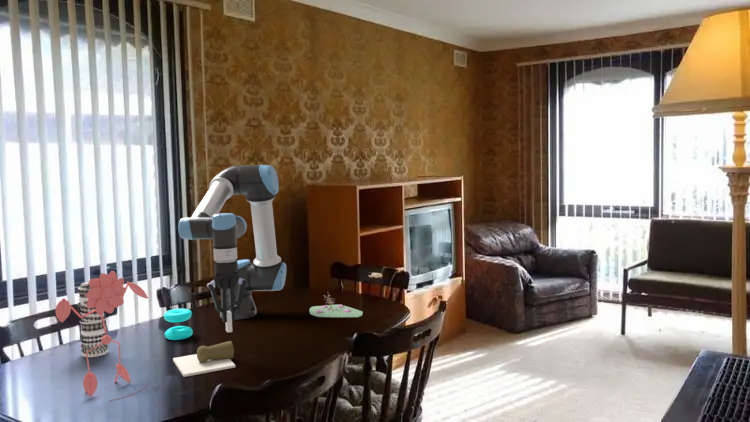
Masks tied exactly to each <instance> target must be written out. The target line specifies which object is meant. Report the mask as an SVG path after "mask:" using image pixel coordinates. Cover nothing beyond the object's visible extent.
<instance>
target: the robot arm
mask: <svg viewBox="0 0 750 422" xmlns="http://www.w3.org/2000/svg"><path fill="white" fill-rule="evenodd" d="M278 177H279V176H278V174H277V171H276V169H275V168H274V166H272V165H269V164H268V165H267V164H253V165H252V164H251V165H250V164H249V165H233V166H230V167H227V168H225V169H223V170H221V171H220V172H218V173H217V174H216V175H215V176H214V177H212V179H211V180H210V182H209V184H208V191H206V193H205V195H204V197H203V198H202V200H201V201H200V202H199V204H198V206H197V207H196V209H195V211H193V213H192V215H191V216H190V217H188V216H187V217H182V218H180V220H179V221H178V225H177V229H178V235H179V237H180V238H181V239H182V240H191V241H193V240H212V243H213V244H212V246H213V249H212V250H213V260H214V263H213V266H214V270H213V271H214V275H213V279H212V280H211V281H210V282H208V283H206V287H207V288H208V289H209V291H210V294H211V297H212V300H213V304H214V308H215V310H216V311H217V312H218V313H219V318H221V319H222V322H223V323H225V331H226V333H233V322H235V321H237V320H245V319H249V318H253V317H255V316H257V313H258V312H257V307H256V304H255V301H254V299H253V296H252V292H274V291H281V290H283V289H284V286H285V283H286V280H287V279H286V277H287V264H286V263H285V262H282V258H281V256H279V255H278V250H277V240H276V230H275V229H276V228H275V219H274V209H273V201H274V199H275V198H276V195H277V194H278V193H279V190H280V186H279V178H278ZM237 195H239V196H243V195H244V196H245V200H246V202H248V203H249V205H250V211H251V213H250V214H251V219H252V228H253V229H252V230H253V237H254V245H255V246H254V248H255V258H254V259H253V260H252V261H253V262H252V261H251V260H250V259H239V260H237V259H238V245H237V244H238V242H237V241H238V240H237V239H239V238H241V237H242V236H243V235H244V234H246V231H247V228H248V224H247V221H246V220H245V219H244V218H243V217H242V216H240V215H236V214H234V213H231V212H221V210H222V208H223V206H224V205H225V203H226V201H228V200H229V199H230V198H232V196H237ZM216 285H217V287H218V288H219V290H220V300H219V297H218V294H217V290H216V289H215V288H216Z"/></svg>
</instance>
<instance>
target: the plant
mask: <svg viewBox="0 0 750 422" xmlns="http://www.w3.org/2000/svg"><path fill="white" fill-rule="evenodd" d="M327 294H328V295H327V296H326V295H325V294H324V295H322V296H323V297H324V299H323V300H324V301H325V300H326V301H325V305H315V306H311V307H310V308H309V314H310V315H312V316H313V317H318V318H360V317H362V316H363V313H364V312H363V311H362V310H359V309H356V308H354V307H350V306H349V305H348V306H346V305H343V304H335V302H336V300H335V299H332V298H331V294H329V291H327ZM325 298H326V299H325ZM328 304H329V305H328Z"/></svg>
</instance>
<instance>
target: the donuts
mask: <svg viewBox="0 0 750 422" xmlns="http://www.w3.org/2000/svg"><path fill="white" fill-rule="evenodd" d="M192 314H193V312H192V310H191V309H188V308H175V309H169V310H167V311H166V312H164V315H163V318H164V320H165V321H166V322H169V323H183V322H186V321H188V320H189V319H190V318H191V317H192V316H193V315H192ZM193 331H194V330H193V329H192V327H190V326H186V325H177V326H176V325H175V326H173V327H170V328H168V329H167V330H166V331H165V332H164V337H165V338H166V339H167V340H169V341H180V340H186V339H189V338H190V337H191V336H193Z"/></svg>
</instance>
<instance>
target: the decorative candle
mask: <svg viewBox="0 0 750 422" xmlns="http://www.w3.org/2000/svg"><path fill="white" fill-rule="evenodd" d="M77 289H78V295H79V296H78V301H79V302H78V303H77V305H76V306H77V307H78V308H77V312H78V313H79V314H80V315H81V316H82V315H85V314H87V313H89V312H91V311H93V310H95V309H96V307H93V308H91V309H88V308H87V301H88V299H89V298H86V294H87V293H88V291H89V290H91V289H92V288H91V286H90V285H89V281H84V282H82V283H81V284H80V286H79V287H77ZM106 313H107V312H106V311H104V313H103V314H102V315H103V320H104V323H105V324H106V320H107V316H106ZM78 321H79V323H80V324H81V325H80V327H81V330H80V334H81V335H80V336H79V337H80V338H81V339H80V342H81V343H82V344H81V345H80V348H81V350H80V351H81V356H82V357H84V358H86V352H87V351H89V350H90V349H92V348H94V347H95V346H97V345H99V344H100V343H102V342H101V339H102V337H103V336H105V335H106V334H105V330H104V327H103V324H102V320H101V315H98V314H97V312H96V311H95V312H93V313H91V314H89V315H87V316H85V317H83V318H81V317H79V319H78ZM108 353H109V345H108V344H107V345H105V344H101V345H99V346H98V347H96V348H94V349H93V350H91V351H89V352H88V353H87V355H88V358H97V357H100V356H103V355H106V354H108Z"/></svg>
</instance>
